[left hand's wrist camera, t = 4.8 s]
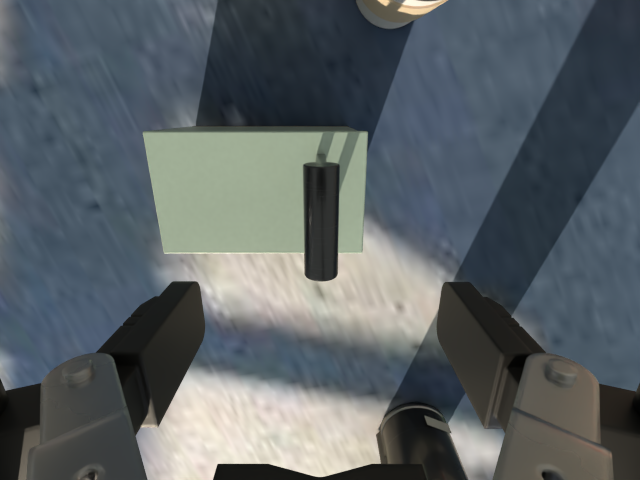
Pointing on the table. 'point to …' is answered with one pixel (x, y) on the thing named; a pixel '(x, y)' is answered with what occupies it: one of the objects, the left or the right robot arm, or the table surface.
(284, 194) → the lid
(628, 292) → the table surface
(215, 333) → the table surface
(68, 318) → the table surface
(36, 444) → the left robot arm
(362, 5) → the coffee cup
